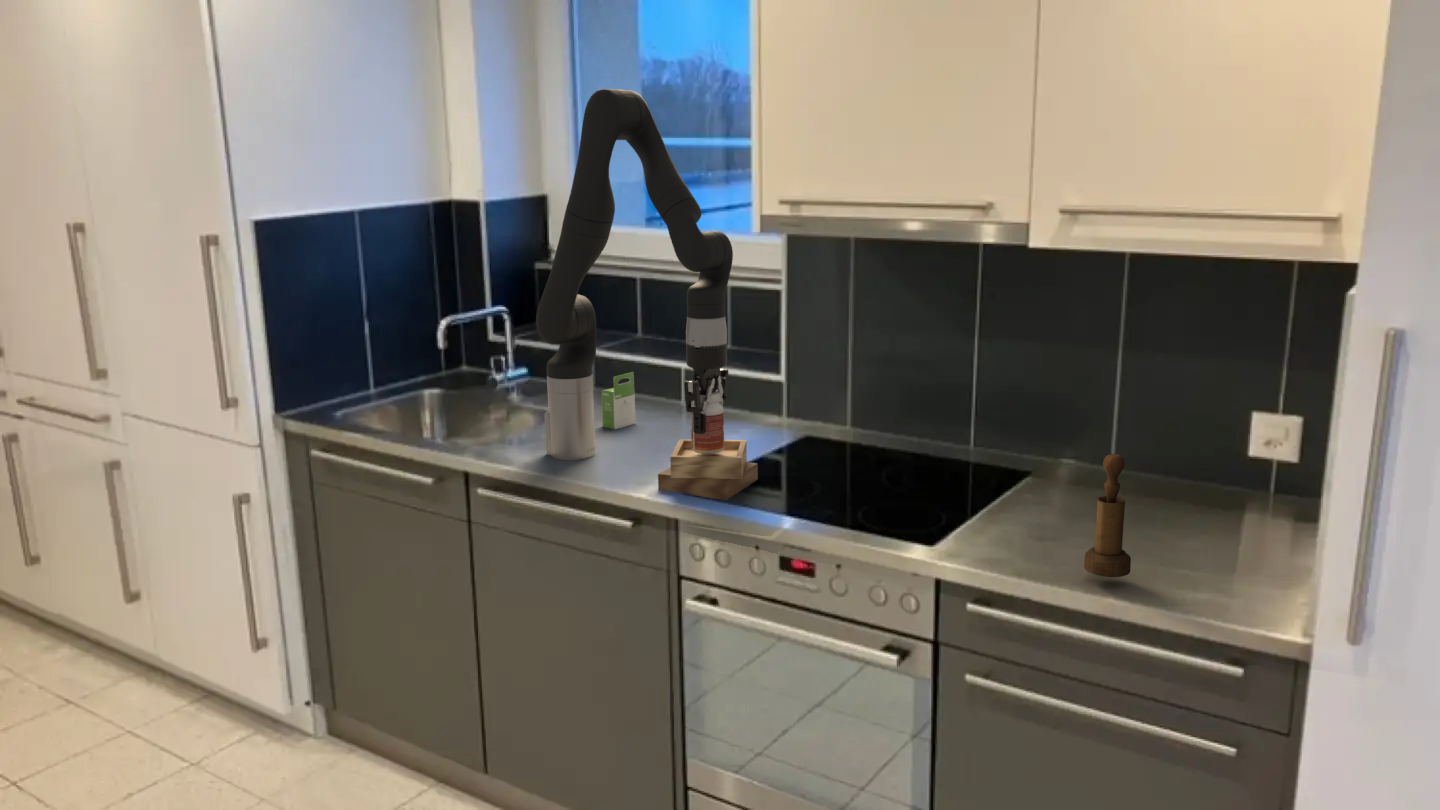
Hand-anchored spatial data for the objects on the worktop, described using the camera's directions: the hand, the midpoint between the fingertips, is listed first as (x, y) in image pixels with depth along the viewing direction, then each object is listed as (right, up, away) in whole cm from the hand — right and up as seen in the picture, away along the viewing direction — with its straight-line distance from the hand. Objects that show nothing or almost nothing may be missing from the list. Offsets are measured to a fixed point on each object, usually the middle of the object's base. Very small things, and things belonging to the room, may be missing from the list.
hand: (707, 428), depth 224 cm
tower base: (0, -11, +3) cm, 12 cm away
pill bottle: (0, -4, +1) cm, 4 cm away
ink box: (-20, -2, +44) cm, 49 cm away
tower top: (0, -8, +1) cm, 8 cm away
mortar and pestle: (+61, -21, -43) cm, 77 cm away
